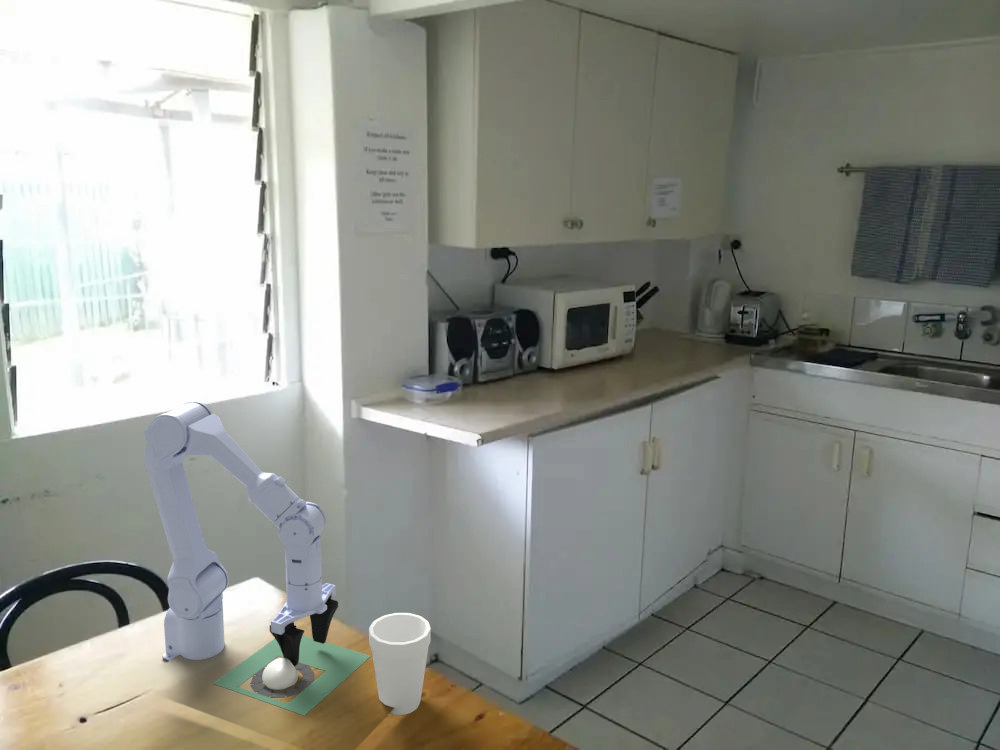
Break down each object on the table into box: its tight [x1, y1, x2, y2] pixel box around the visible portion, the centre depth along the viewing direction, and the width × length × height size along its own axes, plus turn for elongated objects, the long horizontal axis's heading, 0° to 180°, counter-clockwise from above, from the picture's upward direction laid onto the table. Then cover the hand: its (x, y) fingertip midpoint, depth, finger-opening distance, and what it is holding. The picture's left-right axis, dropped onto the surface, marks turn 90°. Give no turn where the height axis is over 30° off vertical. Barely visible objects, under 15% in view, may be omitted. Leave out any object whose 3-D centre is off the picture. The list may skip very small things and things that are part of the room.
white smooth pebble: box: [262, 657, 299, 690], centre depth 129 cm, size 5×5×2 cm
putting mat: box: [212, 634, 372, 717], centre depth 132 cm, size 18×18×2 cm
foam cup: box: [368, 612, 432, 716], centre depth 125 cm, size 10×9×13 cm
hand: (305, 652), depth 134 cm, fingers open, 7 cm apart
